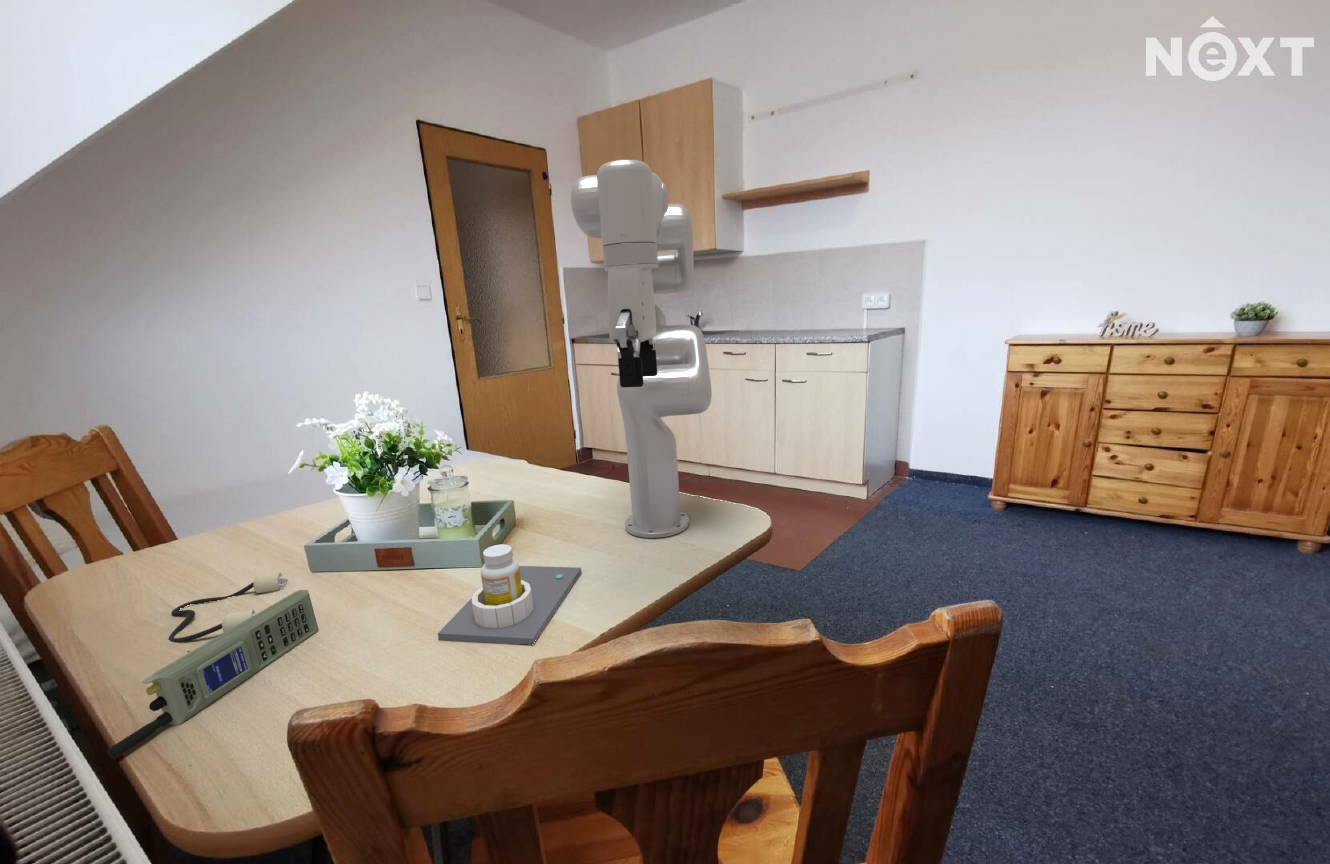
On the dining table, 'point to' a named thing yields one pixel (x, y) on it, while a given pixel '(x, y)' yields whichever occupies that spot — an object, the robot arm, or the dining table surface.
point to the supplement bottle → (500, 576)
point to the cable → (233, 619)
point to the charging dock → (526, 627)
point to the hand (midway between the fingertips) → (639, 381)
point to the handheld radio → (224, 664)
